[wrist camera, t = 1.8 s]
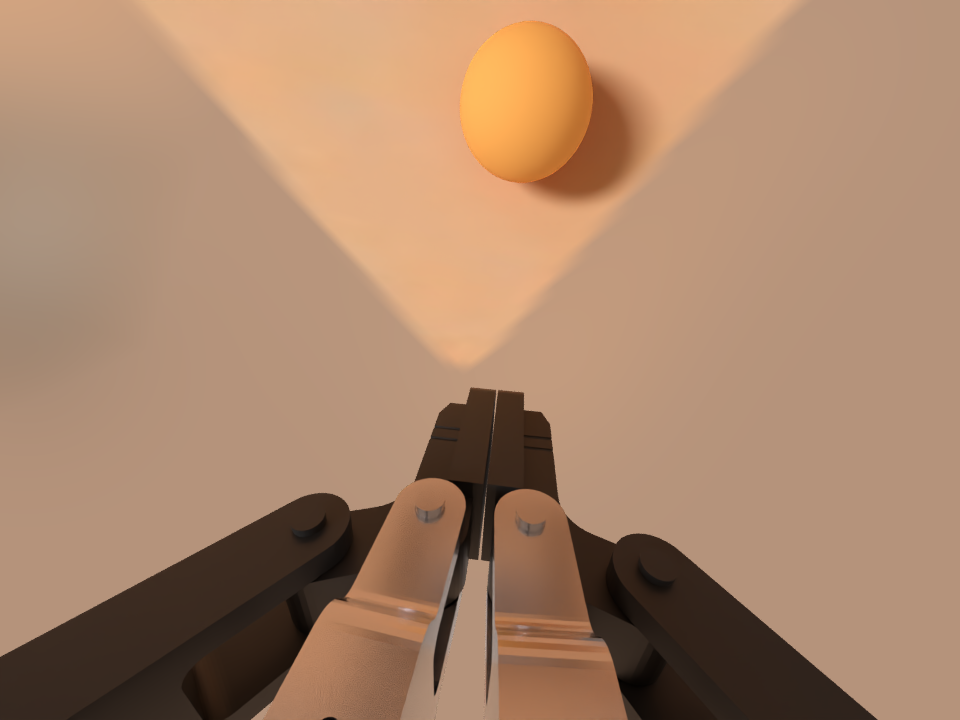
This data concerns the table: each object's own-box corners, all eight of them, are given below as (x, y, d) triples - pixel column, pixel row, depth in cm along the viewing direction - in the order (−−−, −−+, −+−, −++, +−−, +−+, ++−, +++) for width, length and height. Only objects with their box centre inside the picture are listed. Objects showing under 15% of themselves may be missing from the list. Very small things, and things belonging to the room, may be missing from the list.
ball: (471, 46, 18) (449, -10, 13) (592, 49, 18) (621, -8, 12) (467, 179, 21) (448, 179, 15) (572, 185, 20) (589, 187, 15)
